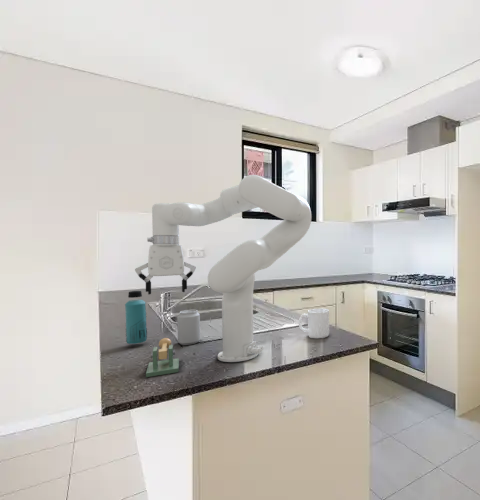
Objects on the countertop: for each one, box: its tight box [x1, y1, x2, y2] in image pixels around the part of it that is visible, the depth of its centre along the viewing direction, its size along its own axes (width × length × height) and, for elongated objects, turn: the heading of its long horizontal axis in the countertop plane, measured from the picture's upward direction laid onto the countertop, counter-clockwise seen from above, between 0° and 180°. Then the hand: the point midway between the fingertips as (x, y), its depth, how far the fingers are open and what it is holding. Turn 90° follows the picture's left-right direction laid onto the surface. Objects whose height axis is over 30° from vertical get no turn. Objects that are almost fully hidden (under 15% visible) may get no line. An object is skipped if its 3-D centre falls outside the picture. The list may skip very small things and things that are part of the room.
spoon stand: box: [145, 344, 180, 378], centre depth 105 cm, size 10×8×6 cm
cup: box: [298, 308, 330, 339], centre depth 141 cm, size 8×12×10 cm
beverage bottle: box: [124, 290, 148, 345], centre depth 129 cm, size 6×7×20 cm
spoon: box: [158, 337, 172, 361], centre depth 111 cm, size 15×4×4 cm, turn 28°
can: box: [176, 309, 201, 346], centre depth 132 cm, size 8×8×12 cm
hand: (166, 292), depth 117 cm, fingers open, 9 cm apart
